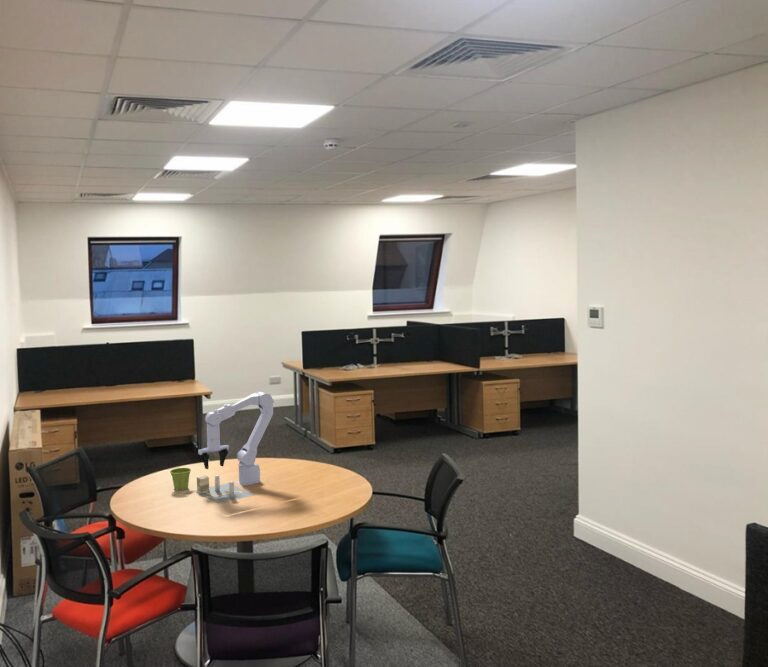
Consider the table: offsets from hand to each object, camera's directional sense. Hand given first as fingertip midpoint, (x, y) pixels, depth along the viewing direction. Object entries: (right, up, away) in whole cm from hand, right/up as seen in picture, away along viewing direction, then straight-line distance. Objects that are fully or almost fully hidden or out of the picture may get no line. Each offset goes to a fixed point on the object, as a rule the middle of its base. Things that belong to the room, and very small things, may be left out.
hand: (214, 467), depth 335 cm
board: (+6, -11, -8) cm, 15 cm away
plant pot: (-16, -10, +1) cm, 19 cm away
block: (-4, -9, -6) cm, 12 cm away
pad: (-4, -10, -5) cm, 12 cm away
